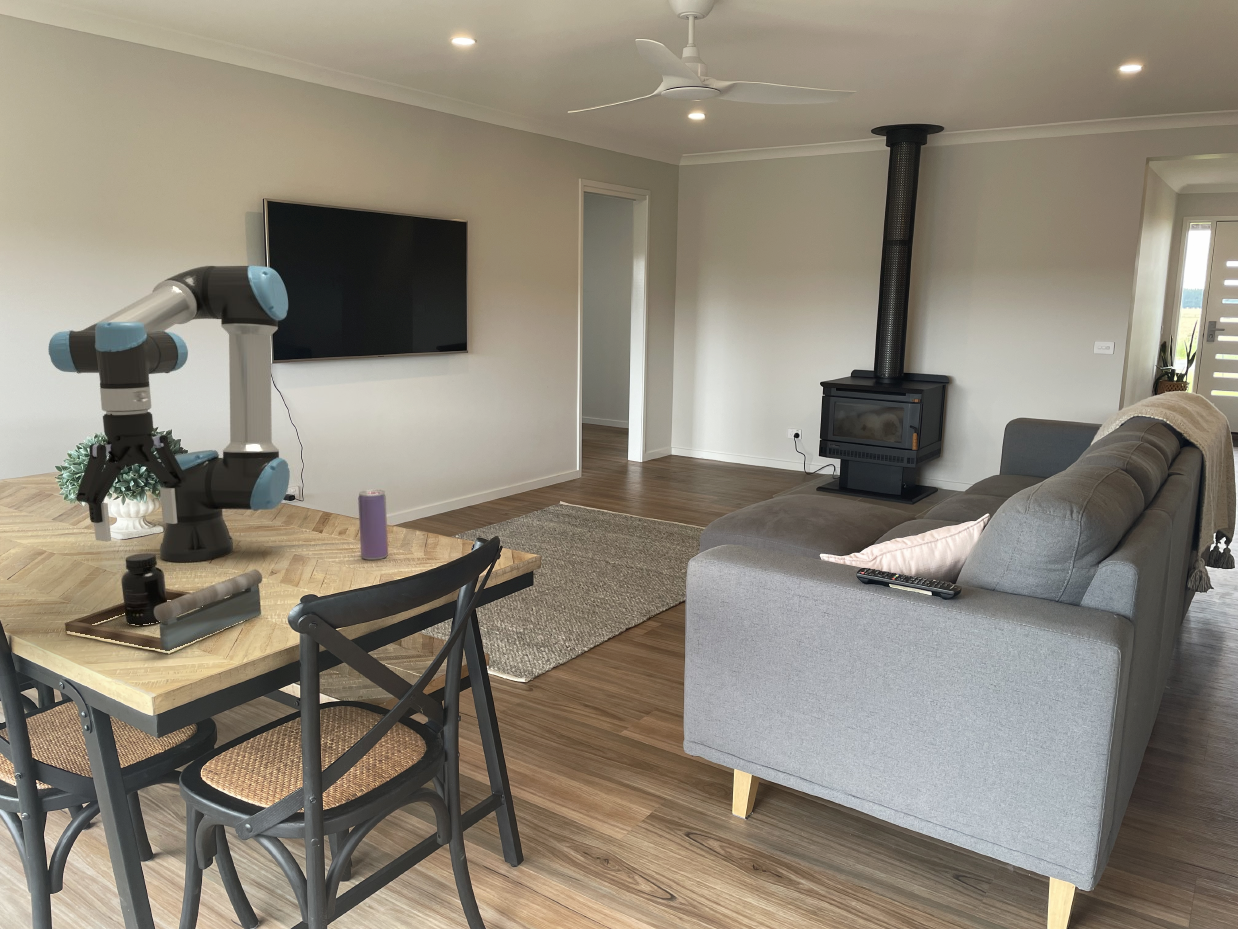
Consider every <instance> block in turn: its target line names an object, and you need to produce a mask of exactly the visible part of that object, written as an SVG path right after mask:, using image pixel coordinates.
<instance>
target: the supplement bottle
mask: <svg viewBox="0 0 1238 929" xmlns="http://www.w3.org/2000/svg"><path fill="white" fill-rule="evenodd" d="M157 566H158V561H157V556H156V554H155V553H152V552H150V553H149V552H143V553H136V554H132V555H129V556H127V557H126V558H125V569H126V570H127V571H126V572H125V573H124V574H122V576H121V579H120V580H121V589H122V591H121V592H122V598H123V602H124V608H125V615H124V616H125V622H126V623H127V624H128V623H129V624H135V625H143V624H149V623H150V624H151V623H156V622H159V621H158V620H157V619H156V618H155V615H154V608H155V607H156V606H157V605H160V604H163V603H165V602H168V601H167V596H166V589H167V588H166V578H165V572H164V571H163V570H162V569H161V568H159V567H157ZM129 624H128V625H129Z"/></svg>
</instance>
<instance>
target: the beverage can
mask: <svg viewBox="0 0 1238 929" xmlns="http://www.w3.org/2000/svg"><path fill="white" fill-rule="evenodd" d="M386 496H387V495H386V492H385V490H382V489H367V490H362V491H359V492H358V498H357V501H358V503H357V504H358V521H359V538H360V539H359V542H360V543H359V544H360V556H361V558H362V559H363V560H367V561H378V560H383V559H385V558H387V556H388V555H389V544H388V543H389V541H388V540H389V539H388V516H387V513H388V512H387V497H386Z"/></svg>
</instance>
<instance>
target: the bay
mask: <svg viewBox="0 0 1238 929" xmlns="http://www.w3.org/2000/svg"><path fill="white" fill-rule="evenodd" d="M262 582H263V575H262V573H261V571H260V570H258V569H252V570H249V571H247V572H245V573H244V572H243V573H242V574H239V575H236V576H233V577H230V578H228V579H225V580H222V581H220V582H217V583H215V584H212V585H209V586H206V587H203V588H201V589H198V590H196V591H195V590H194V591H192V592H190V591H183V590H178V589H173V588H172V589H171V588H166V596H167V600H171V601H167V602H165V603H163V604H160V605H157V606H156V607H155V608H154V615H155V618H156V619H157V620H158V621H160V623H158V626H159V636H160V637H159V636H153V635H148V634H142V633H137V632H133V631H127V630H121V629H118V628H117V629H116V628H112V627H106V626H102V625H101V626H100V625H97V626H96V625H92V624H95V623H98V622H101V621H104V620H108V619H110V618H113V617H115V616H119V615H122V614H124V613H125V608H124V601H123V602H120V603H118V604H115V605H112V606H109V607H107V608H104V609H101V610H98V611H95V612H92V613H90V614H87V615H84V616H81V617H78V618H75V619H72V620H70V621H67V622H65V623H64V627H65V632H66V631H70V632H75V633H80V634H85V635H90V636H95V637H100V638H104V639H111V640H115V641H119V642H124V643H129V644H134V645H138V646H142V647H149V648H155V649H160V650H165V651H170V650H172V649H174V648H177V647H180V646H183V645H185V644H188V643H191V642H193V641H195V640H197V639H200V638H203V637H205V636H207V635H210V634H213V633H215V632H217V631H220V630H222V629H224V628H226V627H229V626H232V625H234V624H236V623H239V622H241V621H244V620H247V619H249V620H251V619H253V618H252V617H254V618H256V617H258V616H260V615H262V609H261V595H260V594H261V593H260V587H259V588H258V586H257V585H258V584H259V585H260V584H261V583H262ZM243 590H244V591H243ZM240 591H242V592H240ZM237 592H239V593H237ZM235 593H237V594H235ZM232 594H234V595H232ZM202 606H203V607H202ZM255 616H256V617H255ZM250 618H251V619H250ZM247 621H248V620H247Z"/></svg>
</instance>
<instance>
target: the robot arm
mask: <svg viewBox="0 0 1238 929" xmlns="http://www.w3.org/2000/svg"><path fill="white" fill-rule="evenodd" d="M288 311H289V300H288V293H287V289H286V286H285V284H284V282H283V280H282V278H281V276H280V275H279V273H278V272H277V271H276V270H275V269H274V268H272V267H270V266H260V265H204V266H198V267H195V268H191V269H188V270H185V271H183V272H179V273H178V274H174V275H173V276H171V277H169V278H167V279H164V280H162V281H160V282H159V283H157V284H156V285H155V286H154V288H153V290H152V292H151V293H149V294H148V295H145V296H144V297H142V298H140V299H137V300H136V301H134V302H132V303H131V304H129V305H127V306H124V308H121V309H120V310H117V311H116V312H114V313H112V314H110V315H108V316H106V317H104V318H103V319H101V320H99V321H97V322H96V323H95V322H94V324H91V325H89V326H88V327H86V328H83V329H81V330H73V329H72V330H65V331H63V330H62V331H58V332H56V333H54V334H53V335H52V337H51V338H50V339H49V342H48V355H49V358H50V362H51V363H52V365H53V366H54V367H55V369H57V370H59V371H61V372H65V373H76V374H99V377H98V378H99V387H100V388H99V393H100V402H101V410H102V411H104V412H106V413H104V414H103V415H102V423H103V433H104V434H105V436H106V438H107V440H106V444H99V443H91V444H90V445H89V452H88V454H89V457H88V461H87V463H86V466H85V469H84V472H83V475H82V478H81V481H80V484H79V487H78V489H77V493H76V496H75V500H76V501H77V502H80V503H86V504H87V505H88V509H89V511H88V512H89V520H90V523H93V524H94V525H93V526H94V535H95V541H101V542H111V541H112V536H111V534H112V533H111V524H110V512H109V504H108V502H104V500H105V499H106V497H107V496H108V493H109V491H110V490H111V488H112V487H113V486H114V483H115V481H117V478H118V476H119V475H120V473H121V472H122V471H123V470H125V469H126V467H128V468H129V467H132V466H135V465H144V466H145V467H146V468H147V469H148V470H149V471H150V472H151V473H152V475H153V476H154V477H155V478H156V479H157V480H158V481H159V482H160V483H161V484H162V487H160V488H159V493H160V505H161V514H162V515H161V516H162V517H161V518H162V523H164V524H165V527H164V531H163V538H162V543H160V546H159V553H160V554H159V555H160V558H161V559H162V560H164V561H167V562H168V561H169V562H174V563H175V562H176V563H187V562H188V563H189V562H190V563H191V562H201V561H208V560H212V559H213V560H214V559H217V558H221V557H224V556H227V555H229V554H231V553H232V552H233V551H234V549H235V548H234V539H233V538H232V536H231V534H230V531H229V529H228V526H227V524H226V522H225V519H224V515H223V510H238V511H239V510H240V511H241V510H243V511H246V510H249V511H250V510H251V511H254V512H255V511H256V512H257V511H264V510H265V511H266V510H268V511H269V510H274V509H275V508H277V507H279V506H280V504H281V503H282V502H283V501H284V499H285V497H286V495H287V493H288V489H289V485H290V478H291V474H290V473H291V472H290V468H289V464H288V462H287V460H286V459H284V458H282V457H280V451H279V448H278V447H277V446H276V445H274V444H273V441H272V440H273V439H272V438H273V437H272V436H273V434H272V354H271V352H272V351H271V350H272V344H271V342H272V341H271V340H272V339H271V336H272V335H273V334H274V333H275V332H277V330H279V329H278V328H279V327H278V326H279V324H278V323H279V321H282V320H284V319H285V318H286V317H287V314H288ZM193 320H220V324H221V325H220V326H221V328H222V329H223V330H224V331H225V332H226V333H227V335H228V356H229V359H228V360H229V363H228V364H229V366H228V367H229V369H228V370H229V371H228V372H229V434H230V435H229V436H230V440H229V444H228V445H227V446H225V447H224V448H223V449H222V457H220V454H219V452H218V451H217V450H216V449H214V450H213V449H209V450H199V451H192V452H187V453H181V454H178V455H175V454H174V452H173V451H172V449H171V447H170V443H169V438H168V435H165V434H153V435H152V433H153V432H154V421H153V420H154V418H153V413H152V412H150V411H149V410H150V409H151V408H152V399H151V386H150V375H154V374H169V373H172V372H175V371H178V370H181V368H183V367H184V365H186V363H187V361H188V357H189V356H188V355H189V350H188V346H187V343H186V342H185V340H184V339H183V338H182V337H181V336H180V335H179V334H177V333H175V332H171V331H167V330H168V329H171V327H173V326H174V325H184V324H187V323H190V322H191V321H193ZM153 448H154V449H155V450H154V451H155V452H156V454H157V456H156V454H155V453H154V452H153V451H152V449H153ZM107 457H108V458H107Z"/></svg>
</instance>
